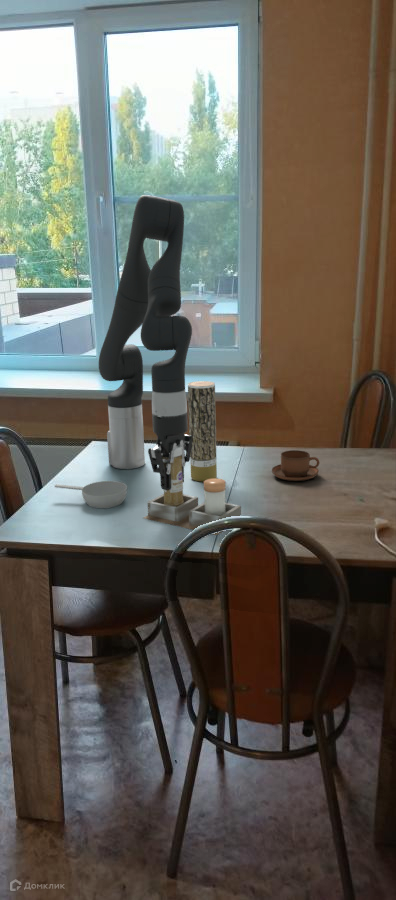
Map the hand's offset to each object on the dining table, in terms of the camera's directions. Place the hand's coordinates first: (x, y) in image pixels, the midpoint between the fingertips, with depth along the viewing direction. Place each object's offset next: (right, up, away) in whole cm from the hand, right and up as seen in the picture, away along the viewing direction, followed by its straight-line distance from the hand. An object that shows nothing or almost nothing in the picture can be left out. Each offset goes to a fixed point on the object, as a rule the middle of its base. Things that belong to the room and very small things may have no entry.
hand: (172, 485), depth 153 cm
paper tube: (+7, 0, +27) cm, 28 cm away
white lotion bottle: (+9, -7, -4) cm, 13 cm away
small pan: (-20, -5, +14) cm, 25 cm away
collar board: (+5, -8, -1) cm, 9 cm away
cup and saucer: (+31, +1, +27) cm, 41 cm away
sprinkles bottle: (0, -4, +1) cm, 4 cm away
